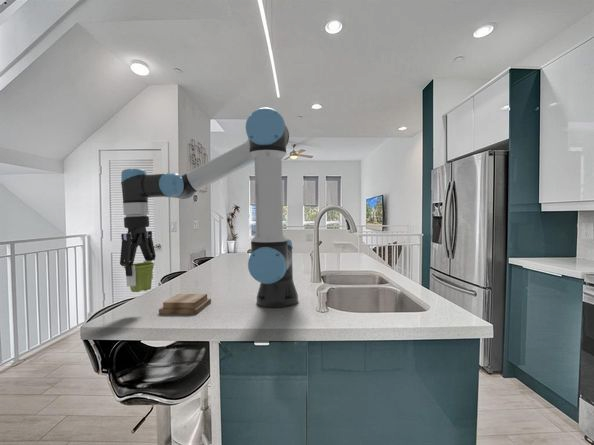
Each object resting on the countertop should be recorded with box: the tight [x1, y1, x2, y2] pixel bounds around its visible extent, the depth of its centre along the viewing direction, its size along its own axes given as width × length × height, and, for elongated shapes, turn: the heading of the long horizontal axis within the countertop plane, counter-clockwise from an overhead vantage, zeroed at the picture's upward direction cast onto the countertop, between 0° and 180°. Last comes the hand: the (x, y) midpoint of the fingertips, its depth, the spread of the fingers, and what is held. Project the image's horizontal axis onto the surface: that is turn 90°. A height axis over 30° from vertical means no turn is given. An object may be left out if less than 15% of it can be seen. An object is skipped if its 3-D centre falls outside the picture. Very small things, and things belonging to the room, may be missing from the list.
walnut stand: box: [158, 293, 212, 315], centre depth 111 cm, size 13×13×4 cm
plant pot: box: [123, 261, 156, 293], centre depth 106 cm, size 9×9×9 cm
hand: (140, 282), depth 107 cm, fingers closed on plant pot, 9 cm apart
